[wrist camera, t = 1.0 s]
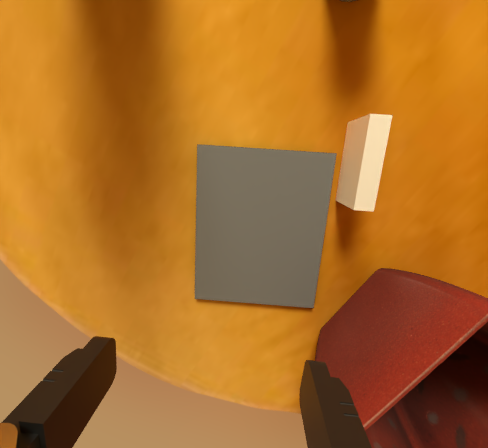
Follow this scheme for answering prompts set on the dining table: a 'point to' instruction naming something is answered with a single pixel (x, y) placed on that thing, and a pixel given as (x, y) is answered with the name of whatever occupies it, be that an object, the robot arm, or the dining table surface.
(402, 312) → the plant pot
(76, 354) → the robot arm
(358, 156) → the card box
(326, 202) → the mat
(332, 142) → the dining table surface
